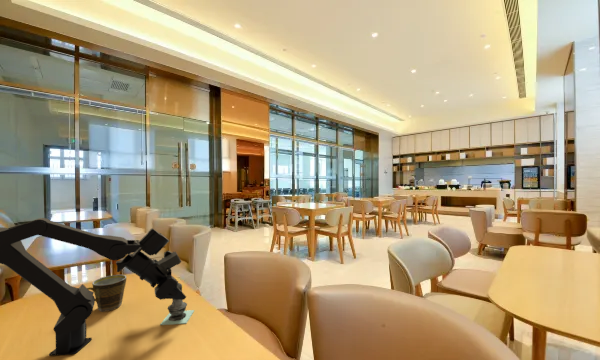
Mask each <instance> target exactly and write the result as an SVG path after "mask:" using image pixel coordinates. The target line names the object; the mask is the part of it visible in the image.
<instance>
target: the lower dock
mask: <svg viewBox="0 0 600 360" xmlns="http://www.w3.org/2000/svg"><path fill="white" fill-rule="evenodd" d="M194 312H195V310H194V309H191V310H190V309H189V310H188V309H187V310H185V311H184V312H183V313H186V317H185V318H183V319H181V320H178V321H170V320H169V317H170V316H171V314H170V313H169V312H168V314H167V315H166V316H165V318H164V319H163V320H162V322H161V323H160V326H165V325H166V326H169V325H186V324H188V322H189V321H190V319H191V317H192V316H193V314H194Z"/></svg>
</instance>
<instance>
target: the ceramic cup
mask: <svg viewBox="0 0 600 360" xmlns="http://www.w3.org/2000/svg"><path fill="white" fill-rule="evenodd" d="M126 284H127V276H126V274H113V275H107V276H104V277H100V278H98V279H95V280H93V281H92V286H91V287H90V286H89V287H86V288H87V289H88V290H89V291H92V292H94V293H93V295H94V298H95V303H96V306H97V309H98V311H99V312H110V311H113V310H116V309H118V308H119V307H120V306H122V304H123V299H124V293H125V289H126Z"/></svg>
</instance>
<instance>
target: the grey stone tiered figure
mask: <svg viewBox="0 0 600 360" xmlns="http://www.w3.org/2000/svg"><path fill="white" fill-rule="evenodd" d="M177 287H178V288H179V289H180V290H181V291H182V292H183V284H182V283H179V281H178V280H177ZM171 302H172V303H171V304H169V305H168V307H167V310H168V314H169V313H170V314H171V316H170V317H169V320H170V321H178V320H181V319H183V318H185V317H186V313H183V312H184V311H186V309H187V307H188V303H187V302H186V301H184V300H180V299H172V301H171Z"/></svg>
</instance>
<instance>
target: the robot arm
mask: <svg viewBox="0 0 600 360" xmlns="http://www.w3.org/2000/svg"><path fill="white" fill-rule="evenodd" d="M36 236H41V237H45V238H47V239H52V240H56V241H59V242H63V243H66V244H70V245H74V246H77V247H81V248H85V249H89V250H90V251H92V252H94V253H96V254H98V255H99V256H102V257H103V258H106V259H109V260H111V261H115V264H116V273H119V272H121V271H122V270H123V269H124V268H125V269H127V270H128V271H129V272H132V273H133V274H134V275H136V276H138V277H139V280H141V281H145V282H147V283H148V284H150V287H151V288H153V289H154V295H155V298H157V299H159V300H160V301H161V300H165V299H167V300H173V299H180V300H183V301H184V300H185V299H186V298H187V296H186V295H185V293H184V292H183V290H182V291H181V290H180V289H179V288H178V287H177V281H178V280H177V279H176V278H175V277H174V276H173V275H172V269H173V268H174V267H175V266H177V265H178V266H179V265H180V264H181V263H182V260H181V258H180V256H179V255H178V253H177V252H176V251H169V250H166V251H165V252H164V253H163V257H161V259H159V260H158V259H156V258H155V259H152V258H151V257H150V256H154V255H155V256H157V254H158V253H159V252H161V250H162V249H163V248H164V247H165V246H166V245H167V244H168V243H169V242H170V240H169V238H167V237H166V236H165V235H164V234H162V233H161V232H159V231H157V230H156V229H154V228H150V229H149V230H148V231H147V233H146V234H145V235H143V237H142V238H141V239H140V240H139V239H130V240H129V239H126V238H125V237H121V236H116V235H115V236H114V235H109V234H108V235H107V234H104V235H103V234H97V233H93V232H89V231H85V230H83V229H80V228H76V227H74V226H70V225H67V224H63V223H60V222H56V221H53V220H50V219H49V218H46V217H40V218H36V219H34V220H32V221H29V222H23V223H21V224H18V225H14V226H12V227H11V226H10V227H2V226H1V227H0V264H1V265H4V266H5V267H7V268H9V269H10V270H12V271H13V272H14V273H16V274H17V275H19V276H20V277H21V278H22V279H24V280H25V281H26V282H28V283H29V284H31V285H32V286H33V287H35V288H36V289H37V290H38V291H40V293H42V294H44V295H45V296H47V297H48V298H49V299H51V300H52V301H53V302H54V304H55V306H56V307H57V310H58V312H59V313H60V314H59V317H58V319H57V321H56V323H55V325H54V327H53V331H54V333H55V348H54V349H53V350H52V351H50V352H49V356H65V355H66V356H67V355H75V354H77V353H78V352H80V351H81V349H83V348H84V347H85V346H86V345H88V344H89V343H90V342H91V341H92V338H93V337H87V319H88V318H89V317H90V316H91V315H92V313H93V310H94V305H95V303H96V301H95V295H94V292H93V290H88V289H87V288H88V287H86V285H84V284H83V283H82V284H81V285H80V286H79V287H76V286H75V287H74V286H72V285H70V284H68V283H67V282H66V280H64V279H62V278H61V277H60V276H58V275H57V274H56V273H54V272H53V271H52V270H51V269H50V268H48V267H47V266H46V265H44V264H43V263H42V262H41V261H39V260H38V259H37V258H35V257H34V256H33V255H32V254H30V252H28V251H27V250H26V248H25V246H24V244H23V242H22V241H23V240H26V239H30V238H32V237H36ZM148 255H149V256H148Z"/></svg>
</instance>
